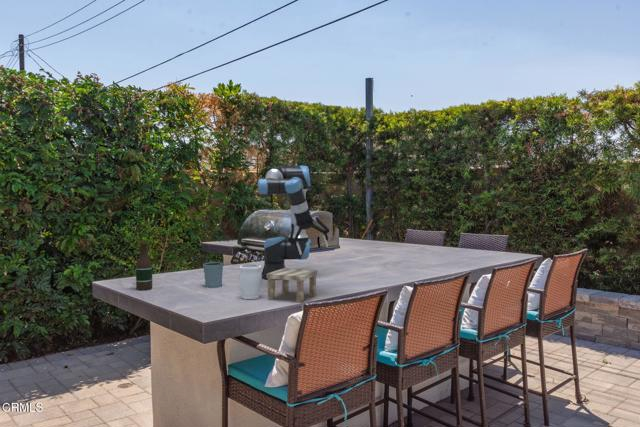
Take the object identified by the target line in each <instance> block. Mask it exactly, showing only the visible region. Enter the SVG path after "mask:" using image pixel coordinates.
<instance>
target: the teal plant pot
mask: <svg viewBox="0 0 640 427" xmlns="http://www.w3.org/2000/svg"><path fill="white" fill-rule="evenodd" d="M202 265H203V273H204V274H203V276H204V285H205V288H210V289H211V288H214V289H216V288H221V287H222V286H223V269H224V268H223V267H224V263H223V262H218V261H217V262H216V261H214V262H205V263H203V264H202Z"/></svg>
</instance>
